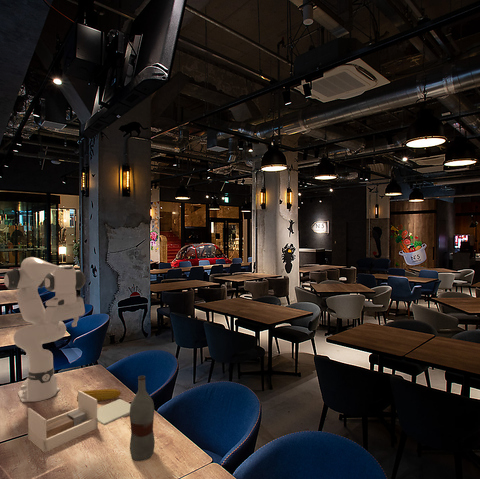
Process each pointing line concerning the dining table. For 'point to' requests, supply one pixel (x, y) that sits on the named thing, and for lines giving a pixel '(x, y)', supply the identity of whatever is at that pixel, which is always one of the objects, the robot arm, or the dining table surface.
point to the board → (113, 411)
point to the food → (103, 394)
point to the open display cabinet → (39, 423)
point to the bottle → (142, 424)
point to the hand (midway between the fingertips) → (66, 328)
